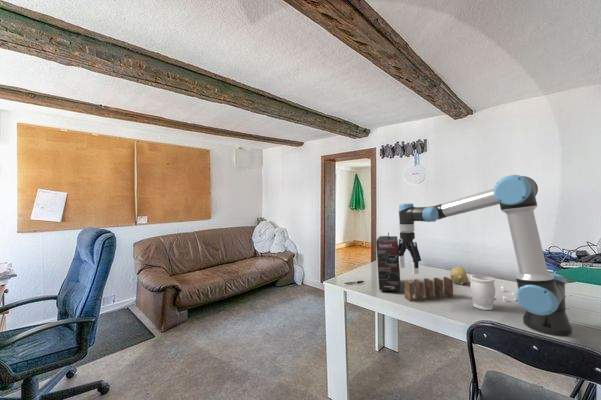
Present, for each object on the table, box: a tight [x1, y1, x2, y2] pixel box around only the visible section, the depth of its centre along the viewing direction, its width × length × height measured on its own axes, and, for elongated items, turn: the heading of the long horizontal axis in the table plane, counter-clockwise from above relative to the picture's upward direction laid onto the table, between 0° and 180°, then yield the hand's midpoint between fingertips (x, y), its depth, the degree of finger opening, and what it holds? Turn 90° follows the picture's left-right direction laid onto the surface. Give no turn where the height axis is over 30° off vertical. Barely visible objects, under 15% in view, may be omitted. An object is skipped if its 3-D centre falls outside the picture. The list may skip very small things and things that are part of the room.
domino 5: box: [443, 276, 454, 298], centre depth 151 cm, size 2×5×10 cm, turn 9°
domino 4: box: [433, 277, 444, 300], centre depth 150 cm, size 2×5×10 cm, turn 9°
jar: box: [469, 274, 496, 311], centre depth 135 cm, size 11×10×15 cm
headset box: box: [375, 232, 401, 292], centre depth 169 cm, size 24×13×33 cm, turn 160°
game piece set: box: [500, 285, 518, 302], centre depth 150 cm, size 19×20×4 cm
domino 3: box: [423, 278, 434, 300], centre depth 149 cm, size 2×5×10 cm, turn 9°
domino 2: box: [413, 278, 424, 302], centre depth 148 cm, size 2×5×10 cm, turn 9°
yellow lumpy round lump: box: [449, 266, 470, 286], centre depth 171 cm, size 10×12×11 cm
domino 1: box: [403, 279, 414, 302], centre depth 147 cm, size 2×5×10 cm, turn 9°
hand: (408, 270), depth 147 cm, fingers open, 13 cm apart
